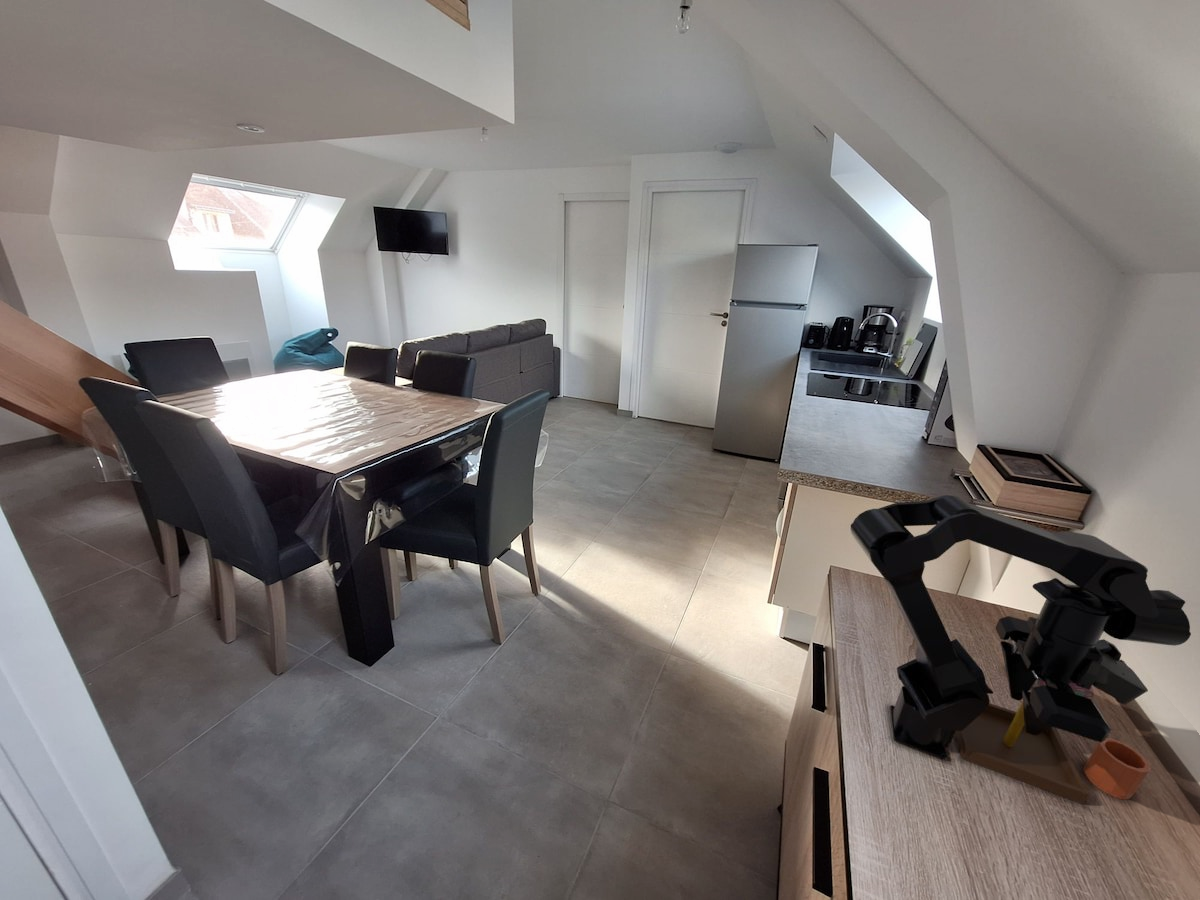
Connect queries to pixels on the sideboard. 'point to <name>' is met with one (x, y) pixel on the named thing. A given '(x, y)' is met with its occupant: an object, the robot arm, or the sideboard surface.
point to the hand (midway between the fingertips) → (1022, 715)
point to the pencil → (1015, 728)
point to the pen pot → (1116, 768)
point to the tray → (1021, 754)
